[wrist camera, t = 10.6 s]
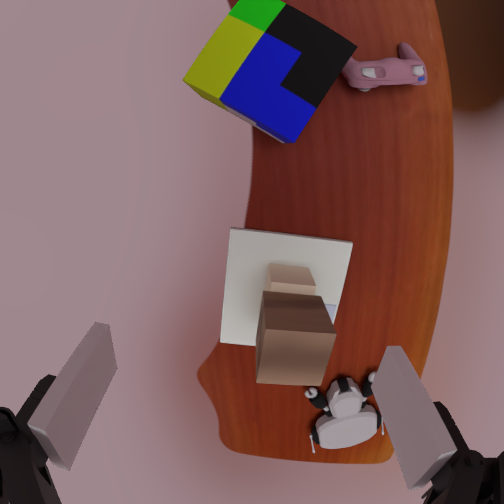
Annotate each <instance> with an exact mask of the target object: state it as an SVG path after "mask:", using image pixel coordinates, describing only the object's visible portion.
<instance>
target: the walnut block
mask: <svg viewBox="0 0 504 504" xmlns="http://www.w3.org/2000/svg"><path fill="white" fill-rule="evenodd" d="M336 335H337V333H336V331H335V328H334V326H333V323H332V321H331V318H330V316H329V314H328V311H327V309H326V306H325V304H324V302H323V299H322V297H321V296H316V295H304V294H293V293H283V292H273V291H263V294H262V300H261V307H260V314H259V321H258V327H257V334H256V383H266V384H283V385H306V386H321V383H322V380H323V377H324V374H325V370H326V367H327V364H328V361H329V358H330V355H331V351H332V348H333V345H334V341H335V338H336Z"/></svg>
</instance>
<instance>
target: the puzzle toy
mask: <svg viewBox="0 0 504 504" xmlns="http://www.w3.org/2000/svg"><path fill="white" fill-rule="evenodd" d="M356 48H357V46H356V45H354V44H353V43H351V42H350V41H348V40H347V39H345V38H344V37H342V36H341V35H339V34H338V33H336V32H335V31H333V30H331V29H330V28H328V27H327V26H325V25H323V24H322V23H320V22H318V21H317V20H315V19H313V18H311V17H310V16H308V15H306V14H304V13H303V12H301V11H299V10H297V9H295V8H293V7H291V6H290V5H288V4H286V3H284V2H282V1H280V0H239V1H238V2H237V4H236V5H235V6H234V7H233V9H232V10H231V11H230V12H229V14H228V15H227V16H226V18H225V19H224V20H223V22H222V23H221V24H220V26H219V27H218V29H217V30H216V31H215V33H214V34H213V35H212V37H211V38H210V40H209V41H208V43H207V44H206V45H205V47H204V48H203V50H202V51H201V53H200V54H199V56H198V57H197V59H196V60H195V62H194V63H193V64H192V66H191V68H190V69H189V71H188V72H187V74H186V75H185V77H184V78H183V81H184V82H185V83H186V84H188V85H189V86H190V87H191V88H192V89H193V90H194V91H195V92H197V93H198V94H199V95H200V96H201V97H202V98H204V99H206V100H208V101H210V102H212V103H214V104H216V105H218V106H219V107H221V108H223V109H225V110H227V111H229V112H230V113H232V114H234V115H236V116H237V117H239V118H241V119H243V120H244V121H246V122H248V123H250V124H251V125H253V126H255V127H256V128H258V129H260V130H262V131H263V132H265V133H267V134H268V135H270V136H271V137H273V138H275V139H276V140H278V141H280V142H281V143H295V141H296V139H297V138H298V136H299V135H300V133H301V132H302V130H303V129H304V127H305V126H306V124H307V122H308V121H309V119H310V118H311V116H312V115H313V113H314V112H315V110H316V109H317V107H318V106H319V104H320V103H321V101H322V99H323V98H324V96H325V95H326V93H327V92H328V90H329V89H330V87H331V86H332V84H333V83H334V81H335V80H336V78H337V77H338V75H339V74H340V72H341V71H342V69H343V68H344V66H345V65H346V63H347V62H348V60H349V59H350V57H351V56H352V54H353V53H354V51H355V50H356Z"/></svg>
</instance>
